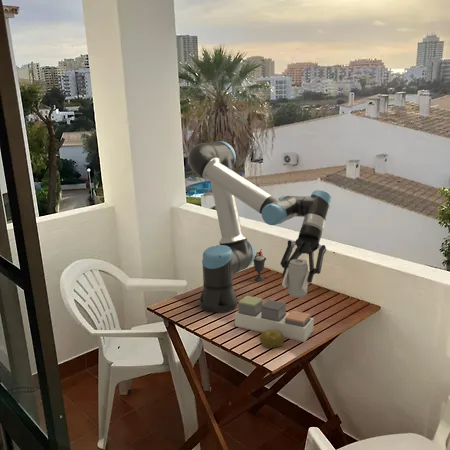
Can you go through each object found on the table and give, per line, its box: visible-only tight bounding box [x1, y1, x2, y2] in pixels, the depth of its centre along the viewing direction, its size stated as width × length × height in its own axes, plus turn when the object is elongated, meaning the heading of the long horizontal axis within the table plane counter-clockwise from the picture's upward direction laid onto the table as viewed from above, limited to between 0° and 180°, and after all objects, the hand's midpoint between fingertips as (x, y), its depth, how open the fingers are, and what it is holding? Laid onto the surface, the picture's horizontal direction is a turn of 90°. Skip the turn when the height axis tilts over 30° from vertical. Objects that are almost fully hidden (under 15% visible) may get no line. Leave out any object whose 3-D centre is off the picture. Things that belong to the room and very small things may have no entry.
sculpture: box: [259, 330, 285, 349], centre depth 155 cm, size 8×4×8 cm
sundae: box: [253, 248, 267, 282], centre depth 213 cm, size 7×7×15 cm
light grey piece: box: [234, 309, 315, 343], centre depth 165 cm, size 26×9×5 cm, turn 61°
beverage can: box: [287, 258, 309, 299], centre depth 157 cm, size 6×6×12 cm
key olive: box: [238, 295, 264, 317], centre depth 169 cm, size 6×6×6 cm
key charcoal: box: [261, 299, 287, 322], centre depth 164 cm, size 6×6×6 cm
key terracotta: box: [285, 310, 311, 327], centre depth 161 cm, size 6×6×6 cm
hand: (293, 288), depth 154 cm, fingers closed on beverage can, 6 cm apart
